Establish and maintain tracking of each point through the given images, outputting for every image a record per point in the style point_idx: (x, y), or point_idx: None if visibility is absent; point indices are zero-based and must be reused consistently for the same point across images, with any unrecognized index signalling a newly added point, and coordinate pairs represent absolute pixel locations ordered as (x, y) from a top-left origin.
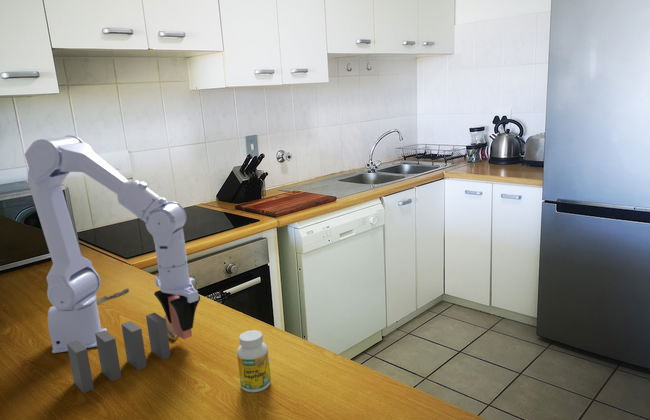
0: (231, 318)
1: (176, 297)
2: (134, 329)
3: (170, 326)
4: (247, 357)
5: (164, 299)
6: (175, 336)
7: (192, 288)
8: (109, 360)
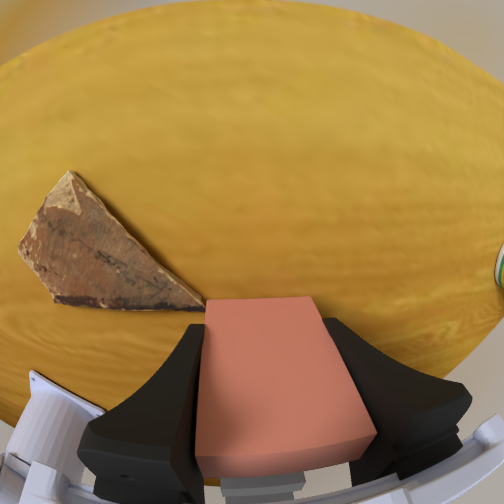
0: (206, 37)
1: (266, 464)
2: (292, 488)
3: (111, 281)
4: None
5: (200, 473)
6: (199, 301)
7: (480, 475)
8: None
